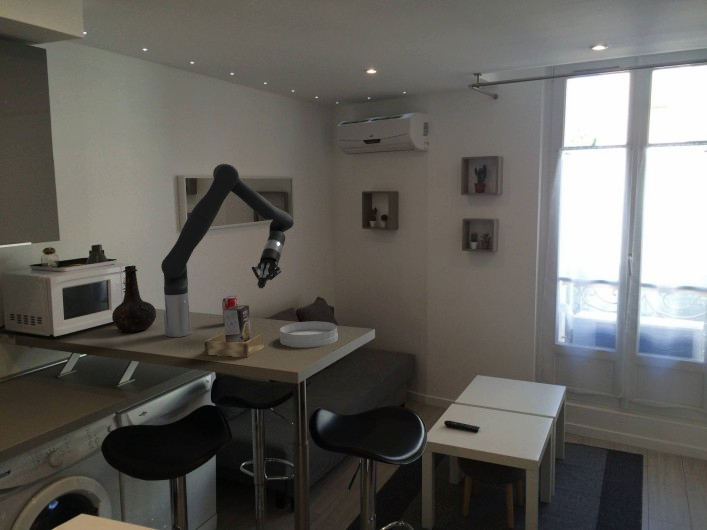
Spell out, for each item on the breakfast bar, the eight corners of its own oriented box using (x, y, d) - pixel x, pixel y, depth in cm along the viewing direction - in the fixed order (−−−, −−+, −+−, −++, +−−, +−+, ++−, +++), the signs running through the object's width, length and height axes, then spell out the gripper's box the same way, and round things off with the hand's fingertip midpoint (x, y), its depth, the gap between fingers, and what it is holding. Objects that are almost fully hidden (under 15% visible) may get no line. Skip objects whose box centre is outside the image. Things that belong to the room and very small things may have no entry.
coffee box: (243, 355, 195) (240, 309, 193) (225, 355, 196) (222, 310, 194) (252, 348, 204) (249, 304, 202) (235, 348, 205) (232, 304, 203)
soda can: (235, 325, 242) (234, 298, 241) (220, 325, 244) (218, 298, 242) (242, 321, 249) (240, 295, 248) (227, 321, 251) (225, 295, 249)
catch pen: (205, 355, 196) (204, 341, 196) (223, 345, 209) (223, 332, 208) (247, 357, 192) (246, 343, 191) (263, 347, 204) (263, 334, 204)
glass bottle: (132, 336, 229) (126, 269, 225) (104, 332, 238) (98, 267, 234) (166, 327, 244) (161, 263, 241) (138, 324, 253) (133, 262, 250)
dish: (328, 331, 227) (327, 319, 226) (346, 343, 206) (345, 330, 206) (274, 337, 220) (273, 325, 219) (287, 351, 199) (286, 337, 198)
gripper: (254, 247, 229) (241, 281, 219) (283, 247, 226) (272, 281, 216) (260, 258, 235) (248, 292, 225) (289, 259, 231) (278, 293, 221)
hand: (260, 287), depth 220 cm, fingers closed
